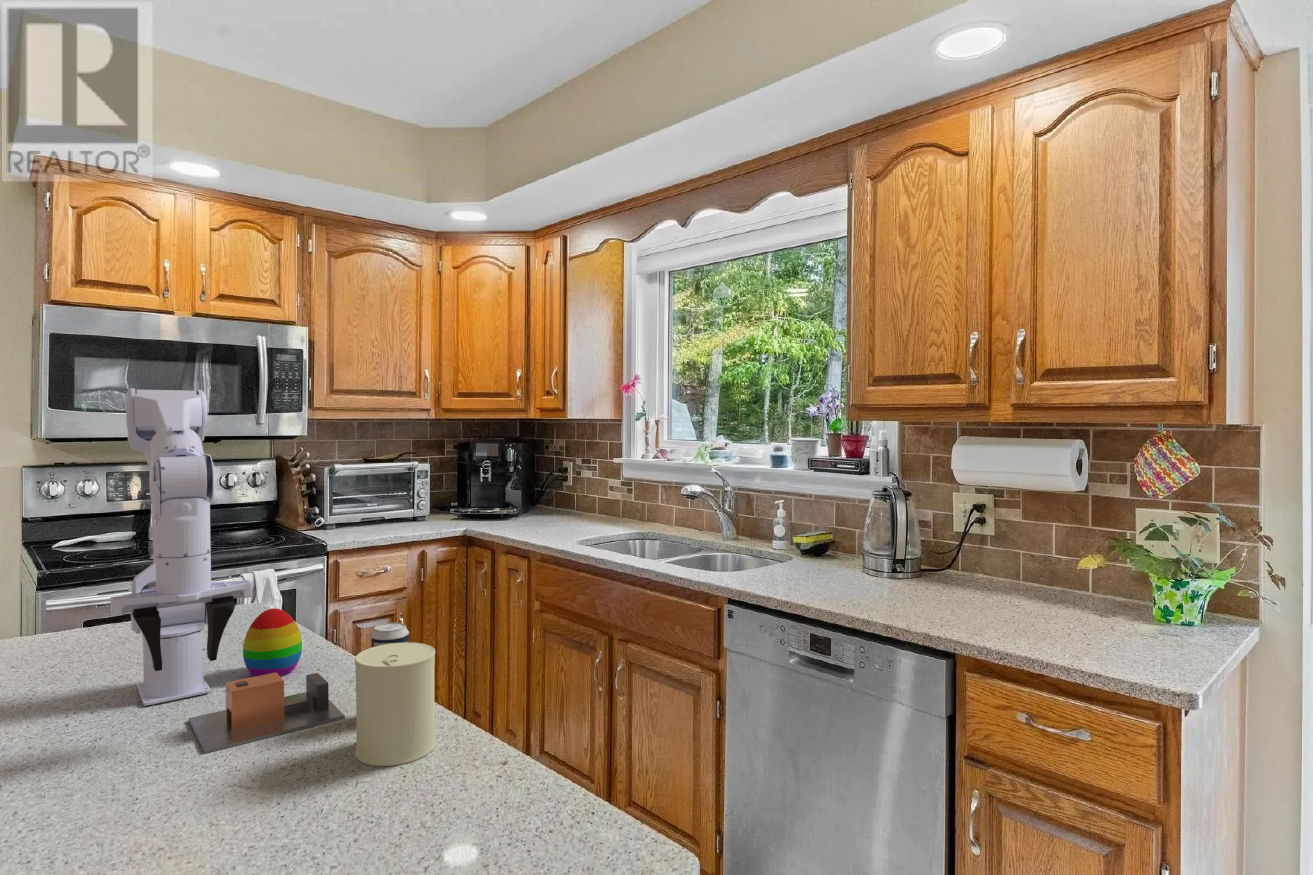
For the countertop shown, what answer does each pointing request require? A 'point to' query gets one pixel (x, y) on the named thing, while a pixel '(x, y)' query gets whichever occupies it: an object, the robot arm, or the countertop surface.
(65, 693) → the countertop surface
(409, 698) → the can
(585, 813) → the countertop surface
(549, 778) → the countertop surface
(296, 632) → the decorative egg
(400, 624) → the beer can
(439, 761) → the countertop surface
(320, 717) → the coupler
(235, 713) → the orange block
